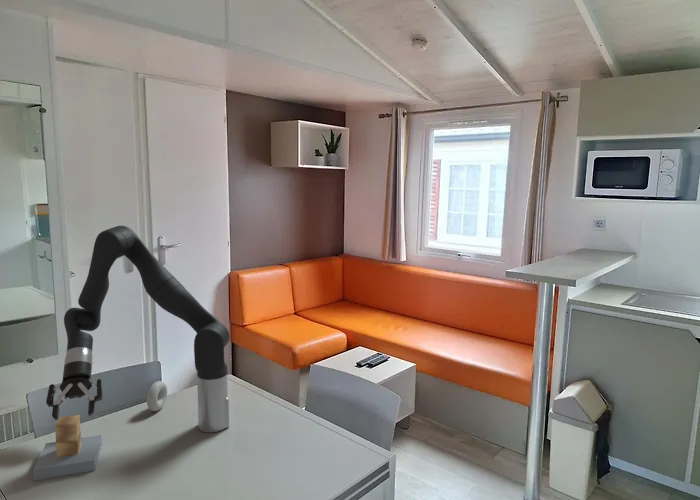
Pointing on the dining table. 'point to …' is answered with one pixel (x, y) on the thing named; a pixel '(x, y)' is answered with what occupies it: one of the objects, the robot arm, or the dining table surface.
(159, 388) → the donut
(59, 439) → the block
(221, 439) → the dining table surface
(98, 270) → the robot arm
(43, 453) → the plinth
